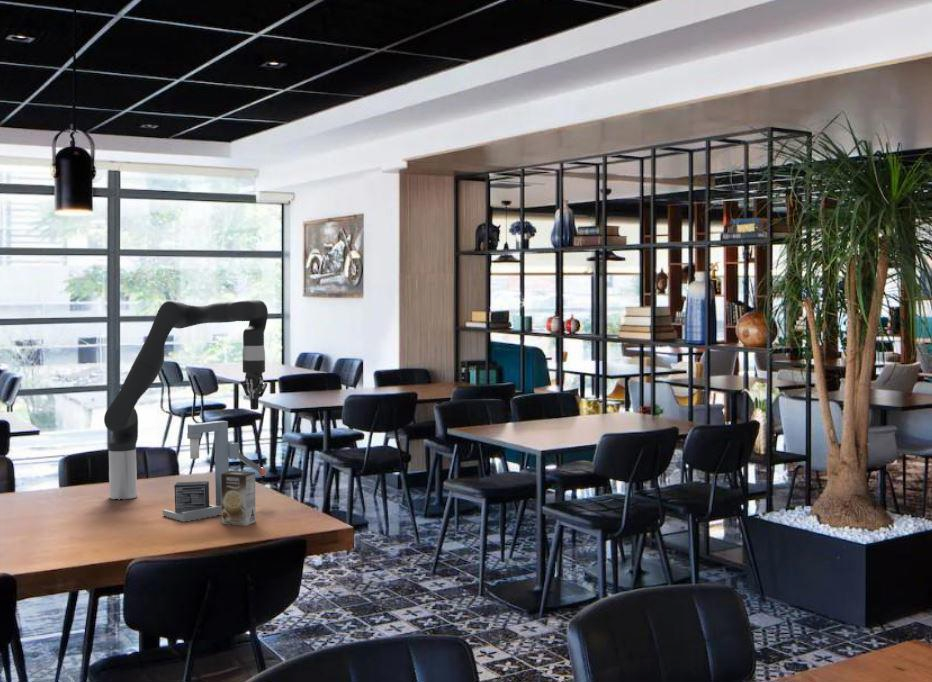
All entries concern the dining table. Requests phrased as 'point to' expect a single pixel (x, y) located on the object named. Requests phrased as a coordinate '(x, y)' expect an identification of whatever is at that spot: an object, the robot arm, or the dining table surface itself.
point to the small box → (191, 496)
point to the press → (220, 465)
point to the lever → (251, 464)
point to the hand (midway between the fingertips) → (254, 409)
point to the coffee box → (238, 497)
